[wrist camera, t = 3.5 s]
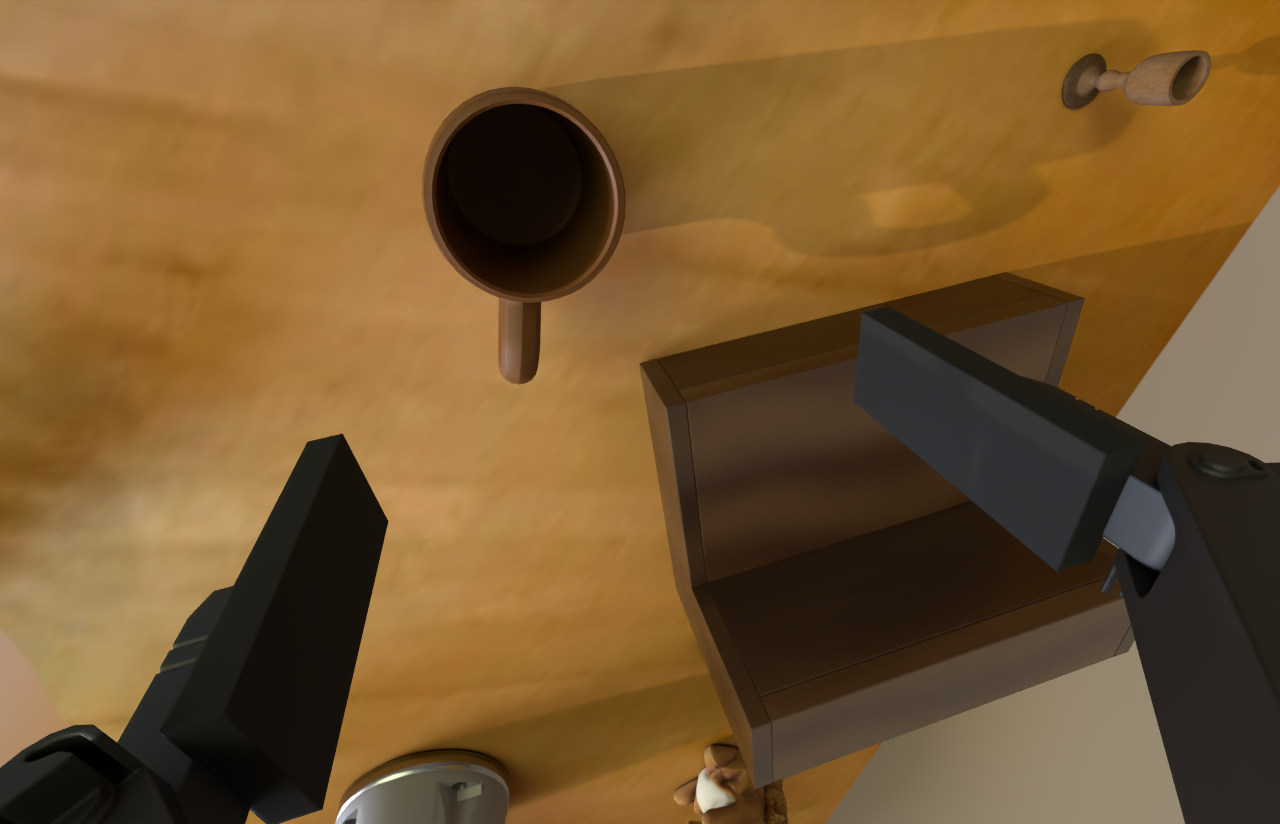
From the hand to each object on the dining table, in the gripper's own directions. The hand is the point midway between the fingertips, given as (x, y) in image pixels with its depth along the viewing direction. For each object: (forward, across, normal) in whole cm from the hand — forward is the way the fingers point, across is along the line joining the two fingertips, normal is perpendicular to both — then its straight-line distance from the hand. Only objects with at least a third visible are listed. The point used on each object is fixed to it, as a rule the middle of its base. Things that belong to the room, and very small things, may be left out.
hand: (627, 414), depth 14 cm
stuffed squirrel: (+19, +7, -64) cm, 67 cm away
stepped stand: (+19, +18, -19) cm, 32 cm away
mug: (+19, -2, +2) cm, 19 cm away
